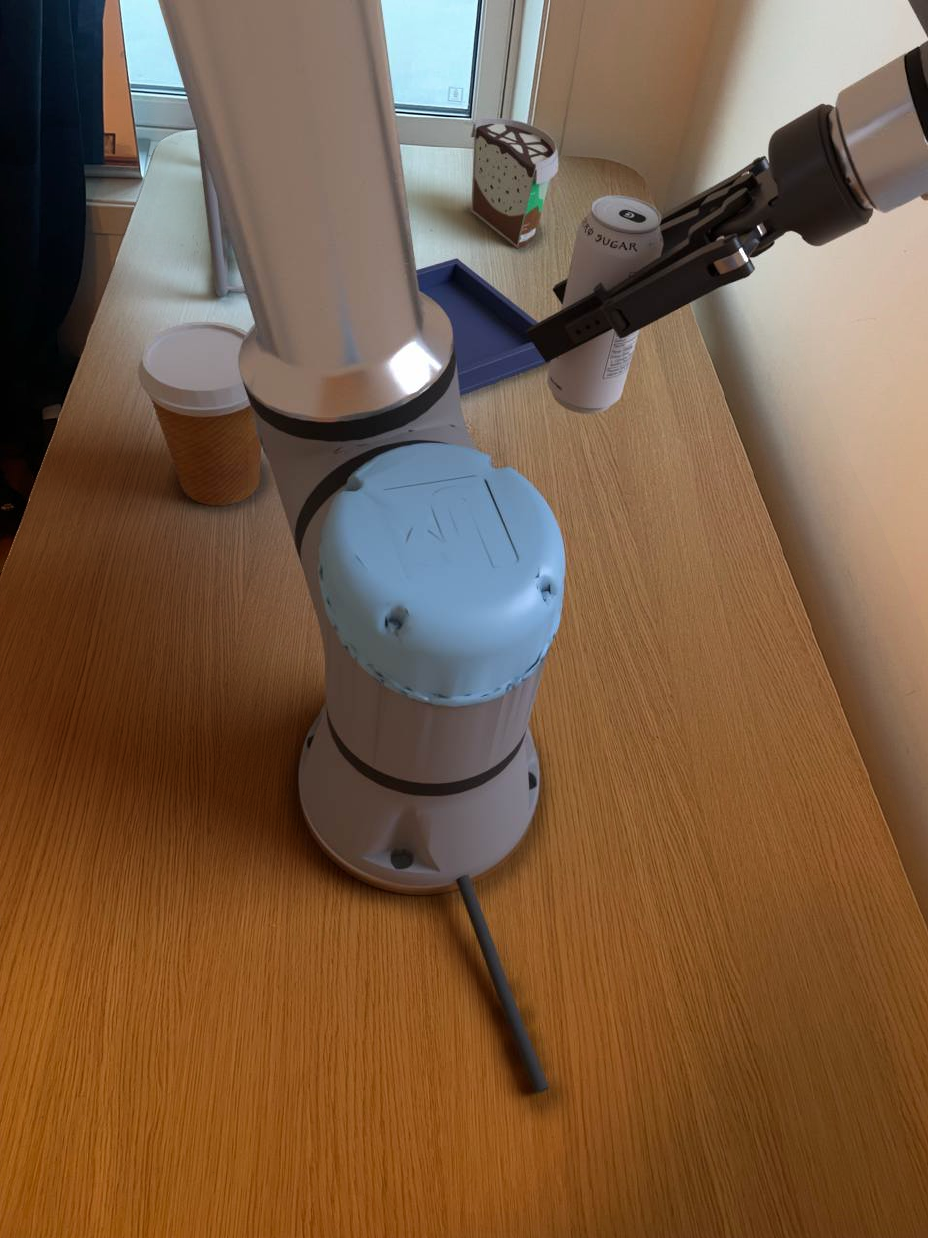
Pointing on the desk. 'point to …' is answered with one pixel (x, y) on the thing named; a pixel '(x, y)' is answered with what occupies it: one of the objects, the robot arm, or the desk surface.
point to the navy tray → (480, 325)
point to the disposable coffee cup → (204, 409)
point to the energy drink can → (606, 254)
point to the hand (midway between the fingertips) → (551, 322)
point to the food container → (511, 176)
